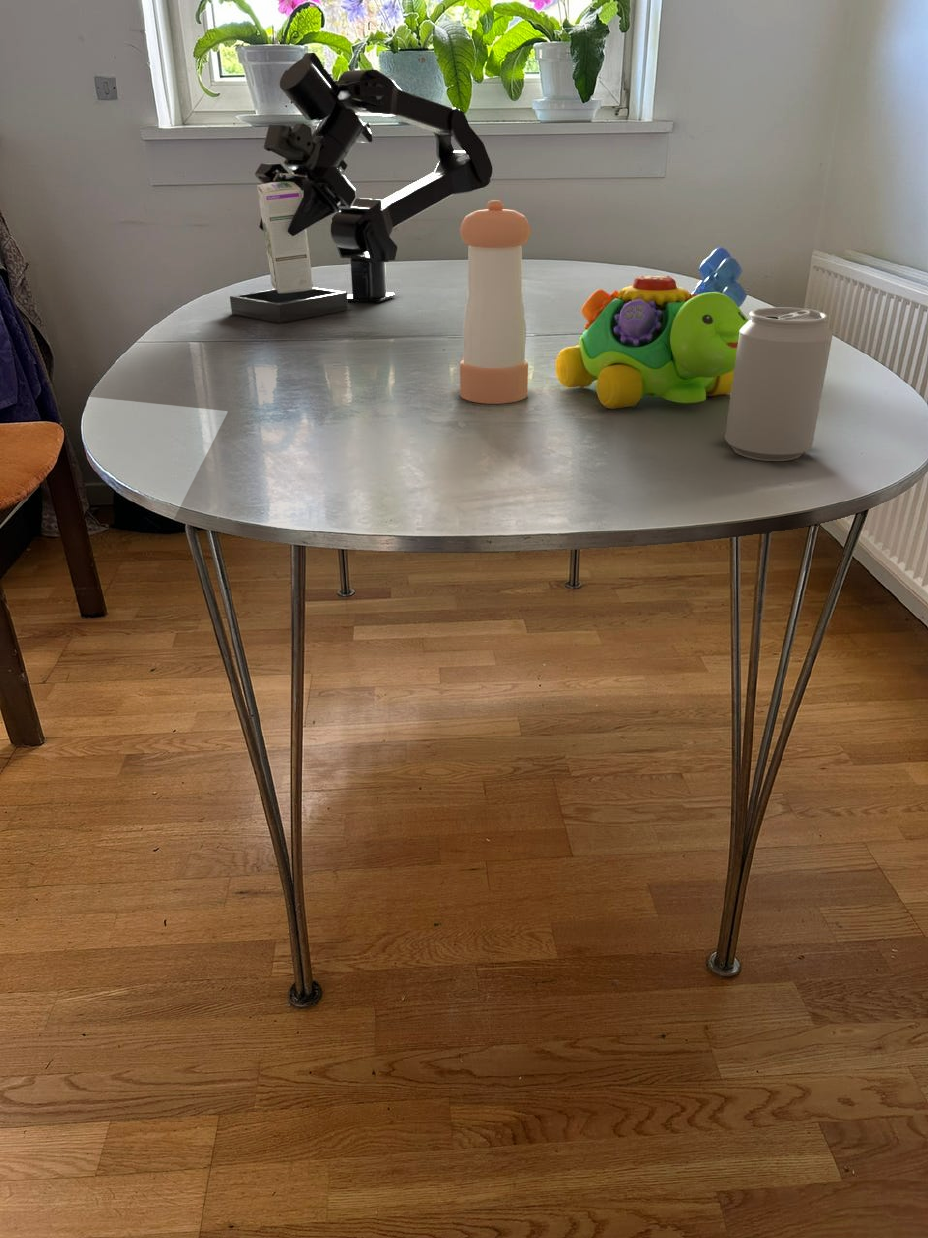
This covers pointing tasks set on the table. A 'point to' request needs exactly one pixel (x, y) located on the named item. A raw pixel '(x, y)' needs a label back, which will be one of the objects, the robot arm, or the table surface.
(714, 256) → the grapes
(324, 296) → the baking tray
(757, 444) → the can
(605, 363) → the turtle toy
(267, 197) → the syrup box
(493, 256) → the pepper shaker
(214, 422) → the table surface
